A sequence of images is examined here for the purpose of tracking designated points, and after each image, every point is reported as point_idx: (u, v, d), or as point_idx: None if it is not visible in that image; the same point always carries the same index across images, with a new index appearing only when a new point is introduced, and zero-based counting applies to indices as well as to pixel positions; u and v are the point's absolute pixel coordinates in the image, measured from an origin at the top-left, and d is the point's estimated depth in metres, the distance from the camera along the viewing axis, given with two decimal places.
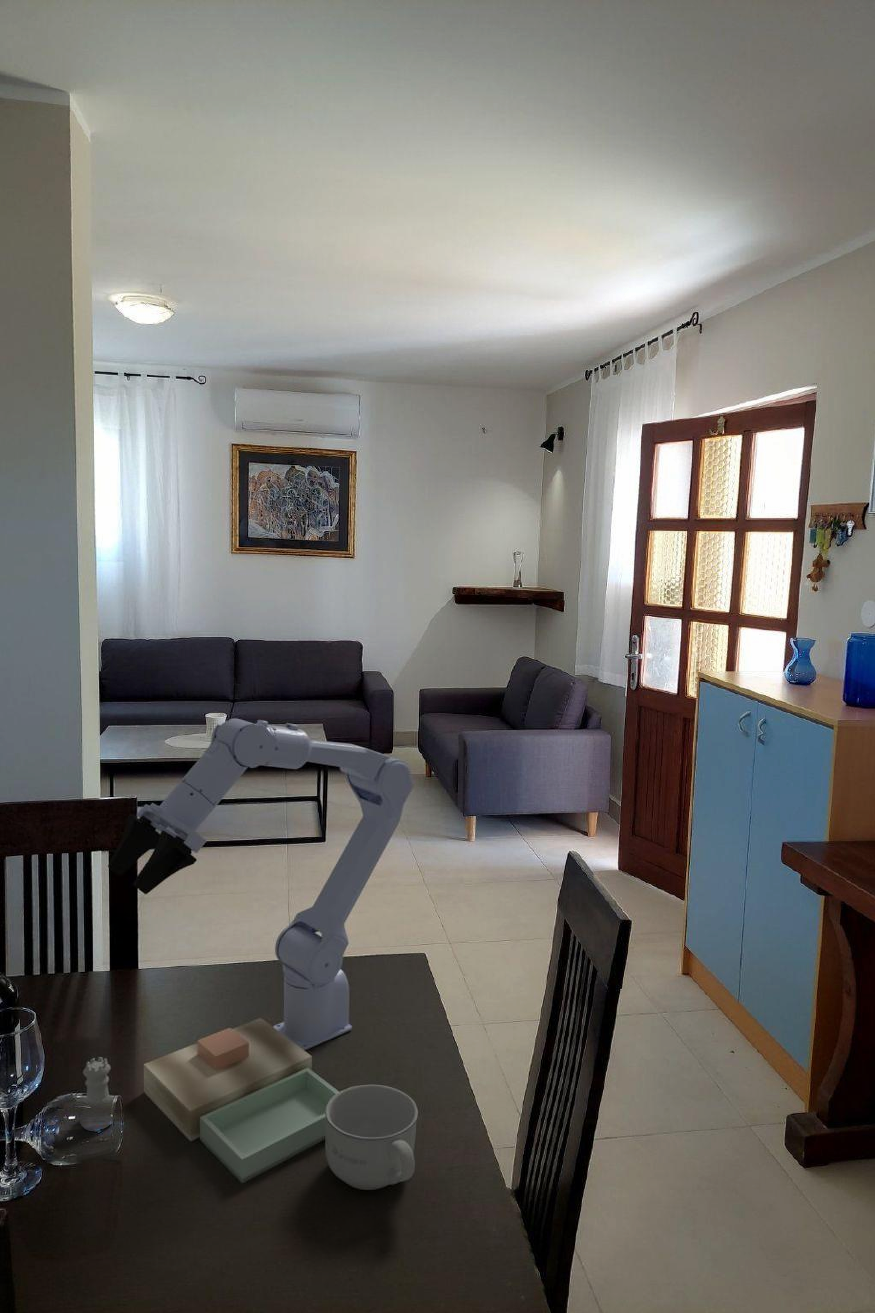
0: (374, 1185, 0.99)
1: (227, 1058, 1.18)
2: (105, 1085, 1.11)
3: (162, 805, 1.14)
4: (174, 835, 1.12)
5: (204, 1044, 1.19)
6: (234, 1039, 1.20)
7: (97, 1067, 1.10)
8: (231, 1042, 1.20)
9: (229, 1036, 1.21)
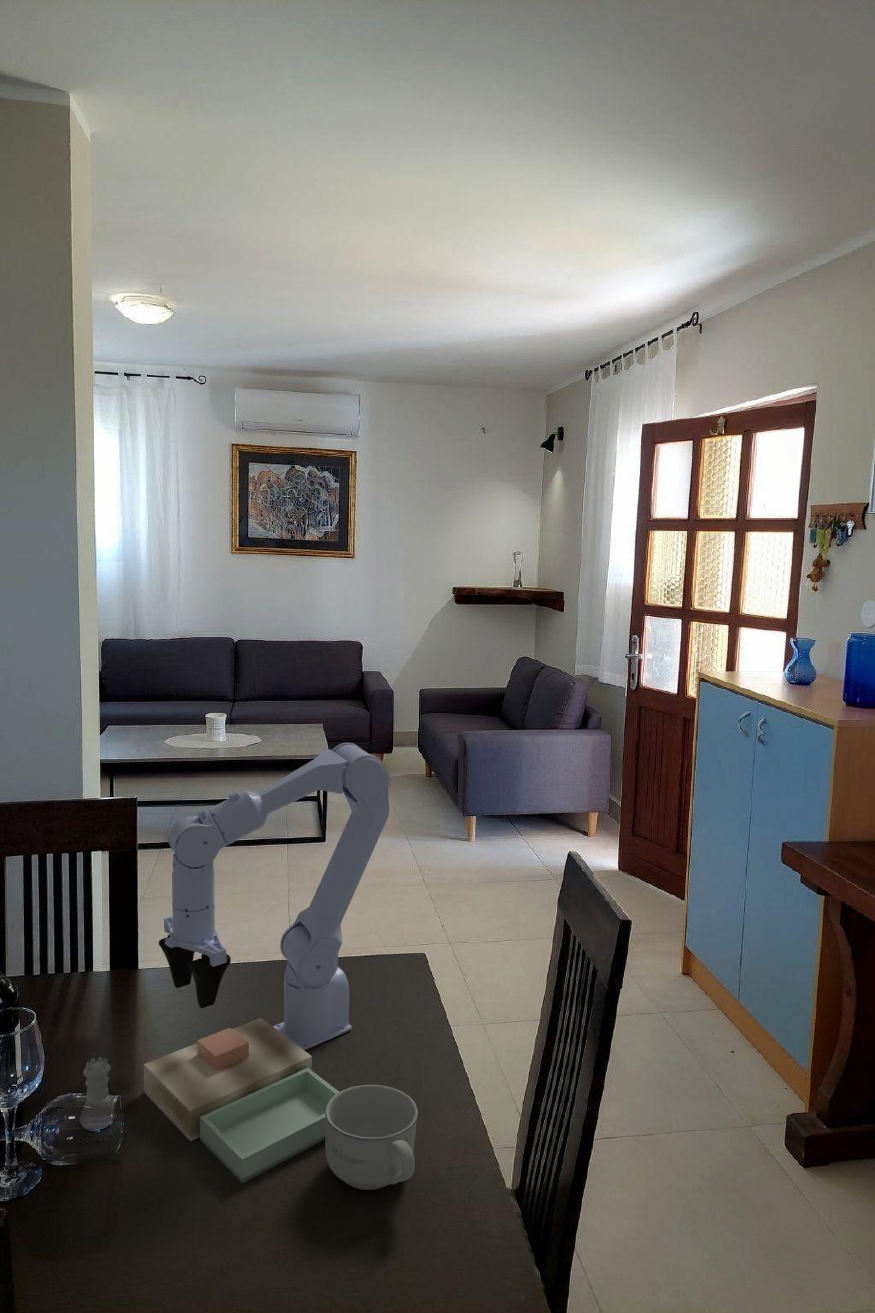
0: (374, 1185, 0.99)
1: (227, 1058, 1.18)
2: (105, 1085, 1.11)
3: (174, 934, 1.22)
4: None
5: (204, 1044, 1.19)
6: (234, 1039, 1.20)
7: (97, 1067, 1.10)
8: (231, 1042, 1.20)
9: (229, 1036, 1.21)
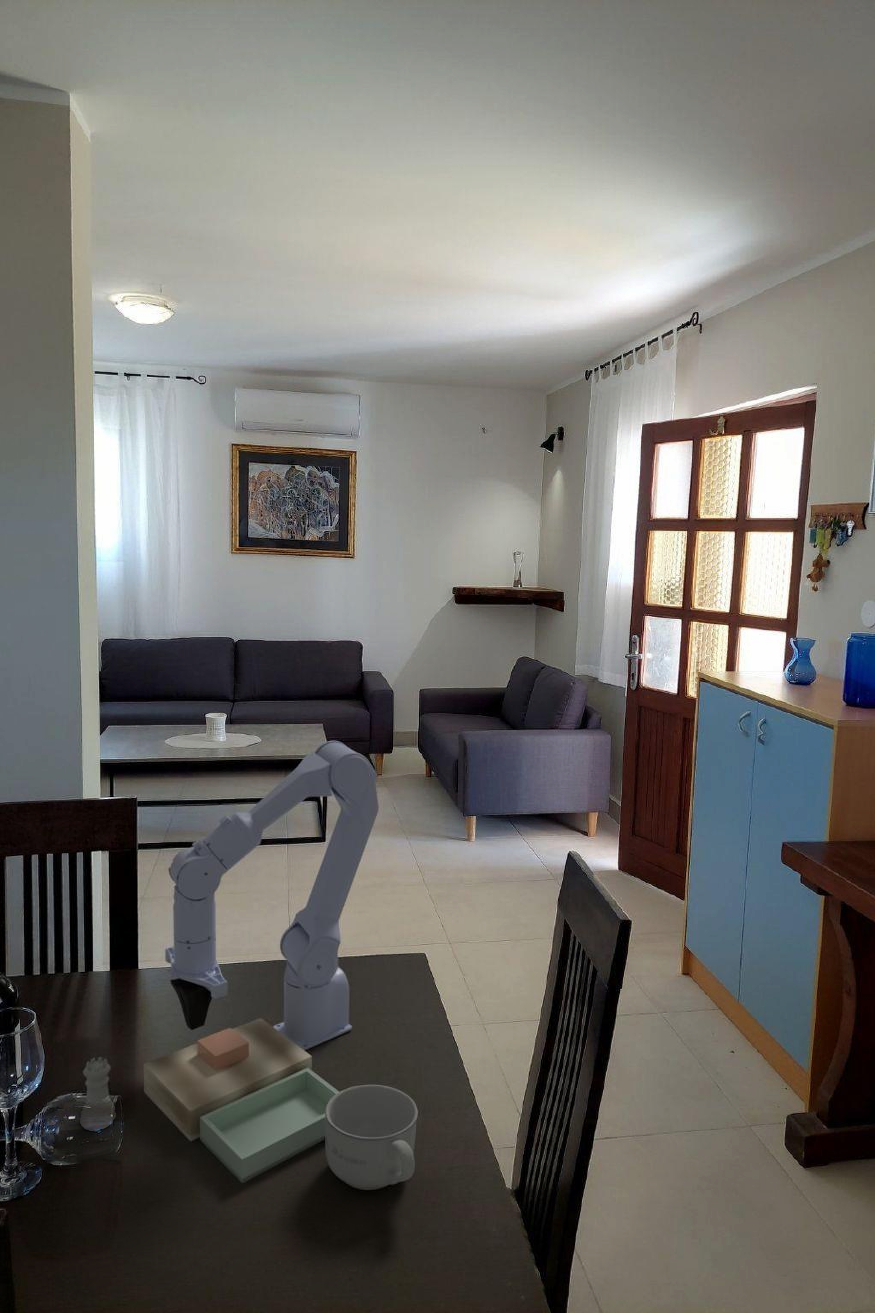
0: (374, 1185, 0.99)
1: (227, 1058, 1.18)
2: (105, 1085, 1.11)
3: (175, 966, 1.23)
4: None
5: (204, 1044, 1.19)
6: (234, 1039, 1.20)
7: (97, 1067, 1.10)
8: (231, 1042, 1.20)
9: (229, 1036, 1.21)
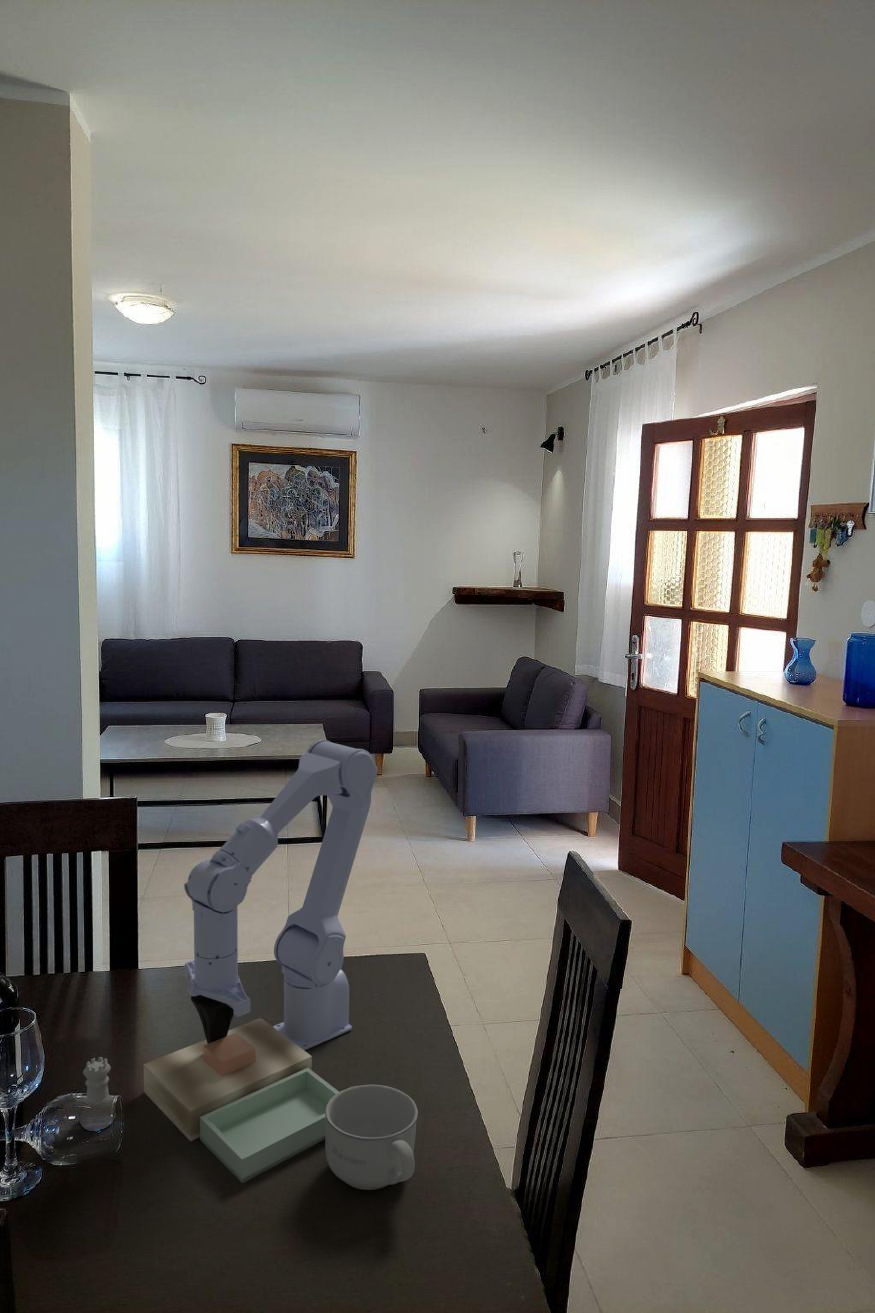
0: (374, 1185, 0.99)
1: (234, 1064, 1.16)
2: (105, 1085, 1.11)
3: (196, 982, 1.18)
4: None
5: (210, 1049, 1.18)
6: (241, 1044, 1.19)
7: (97, 1067, 1.10)
8: (237, 1047, 1.18)
9: (235, 1041, 1.20)
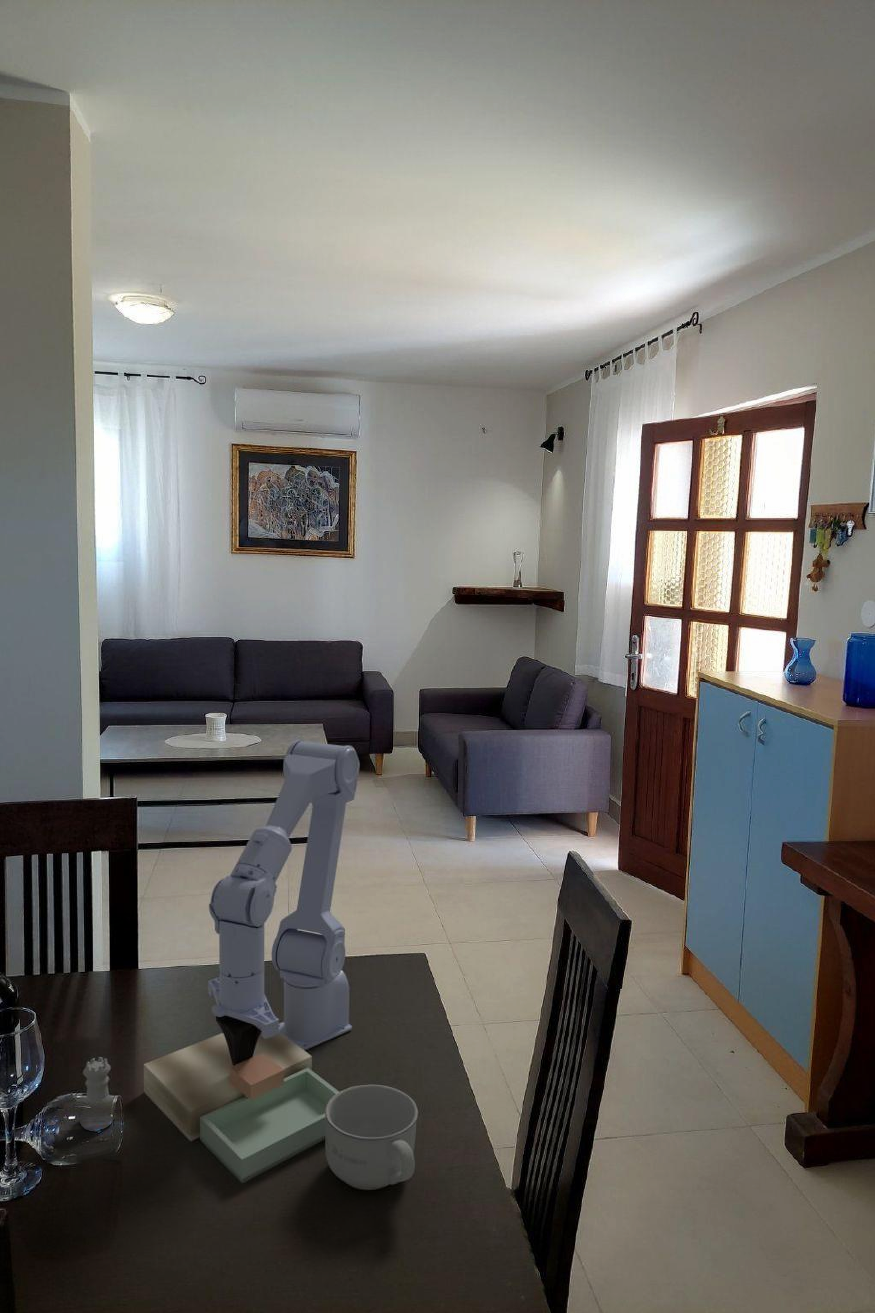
0: (374, 1185, 0.99)
1: (262, 1087, 1.12)
2: (105, 1085, 1.11)
3: (221, 1002, 1.13)
4: None
5: (237, 1072, 1.13)
6: (269, 1066, 1.15)
7: (97, 1067, 1.10)
8: (265, 1069, 1.14)
9: (263, 1062, 1.15)
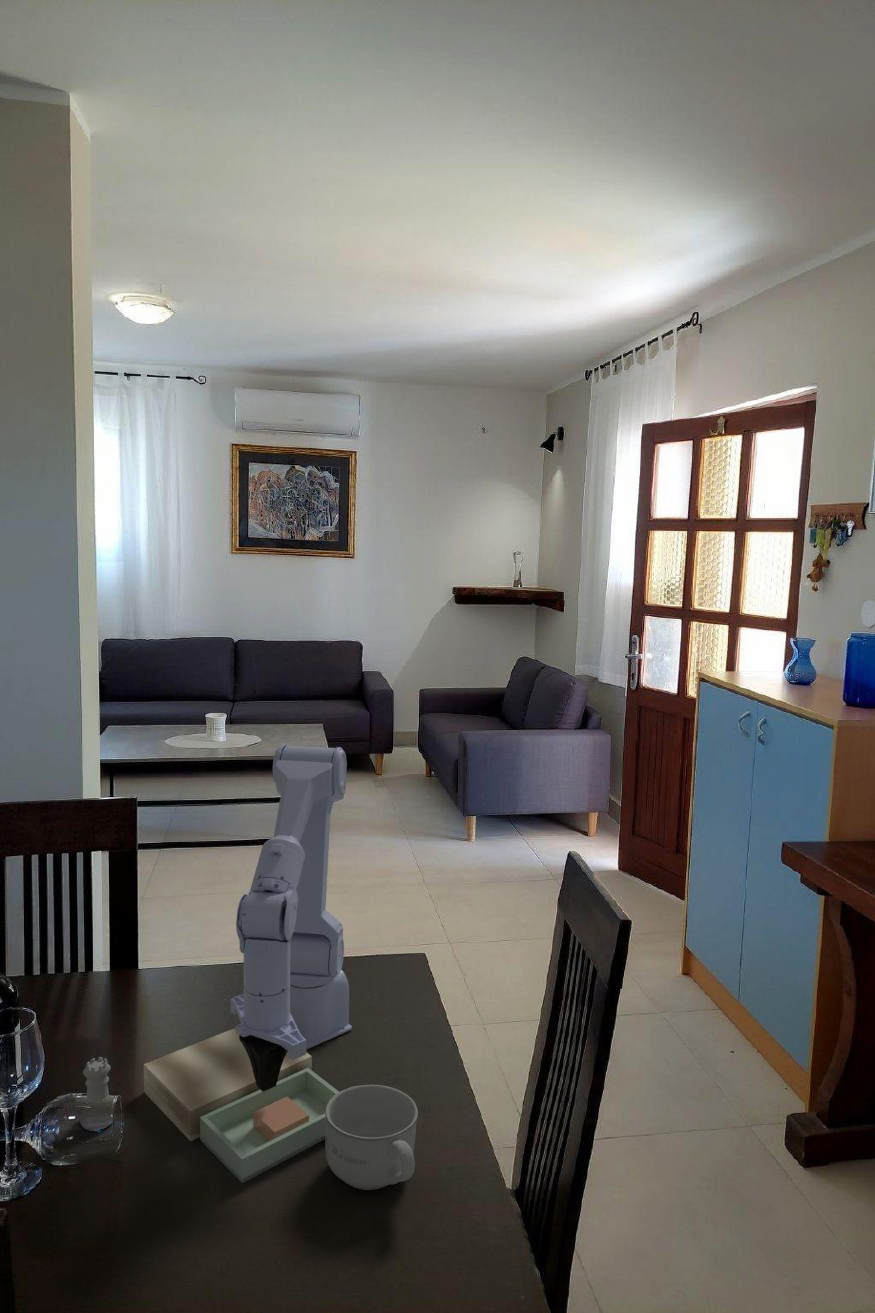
0: (374, 1185, 0.99)
1: None
2: (105, 1085, 1.11)
3: (245, 1021, 1.09)
4: None
5: (270, 1140, 1.08)
6: None
7: (97, 1067, 1.10)
8: None
9: None
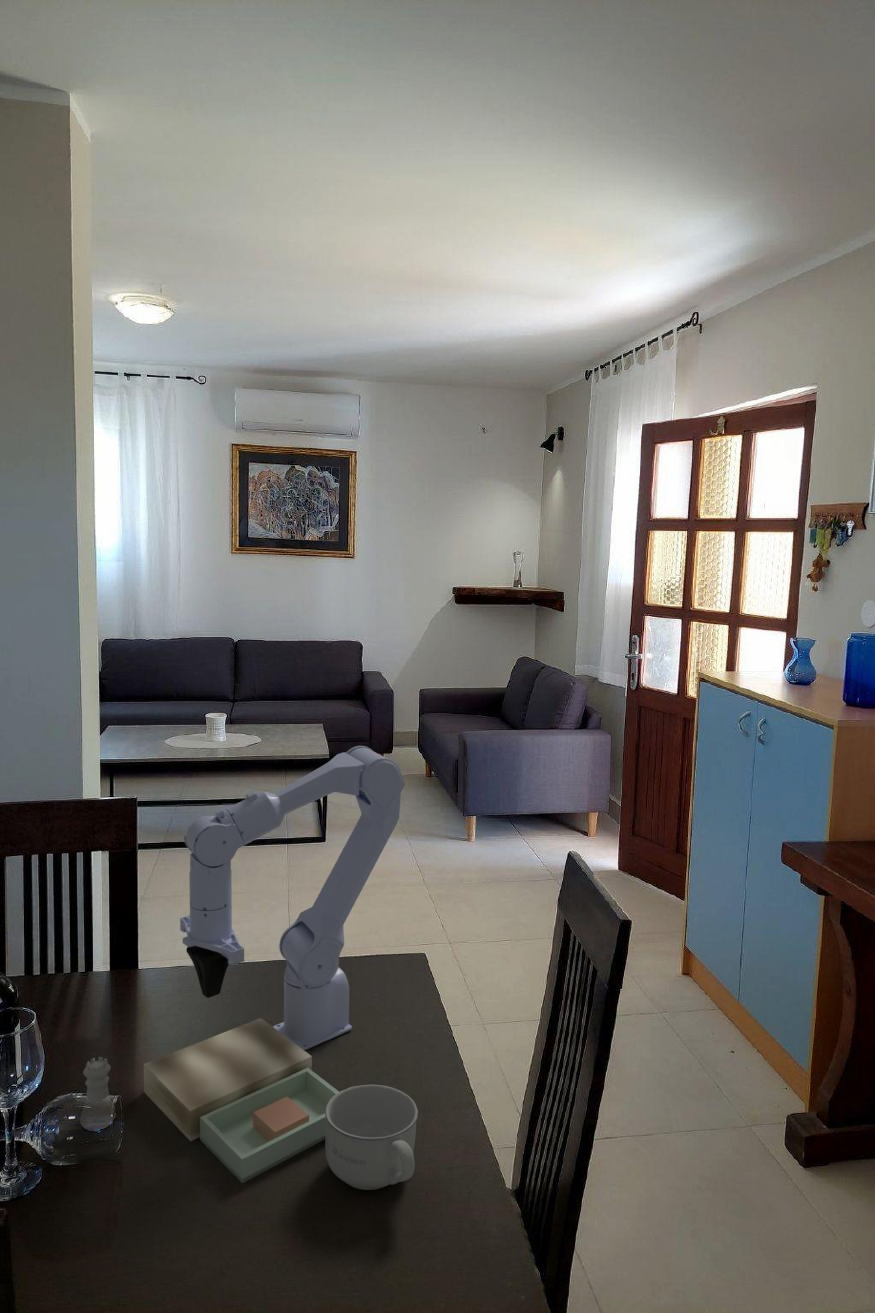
0: (374, 1185, 0.99)
1: None
2: (105, 1085, 1.11)
3: (191, 933, 1.23)
4: None
5: (270, 1140, 1.08)
6: None
7: (97, 1067, 1.10)
8: None
9: None
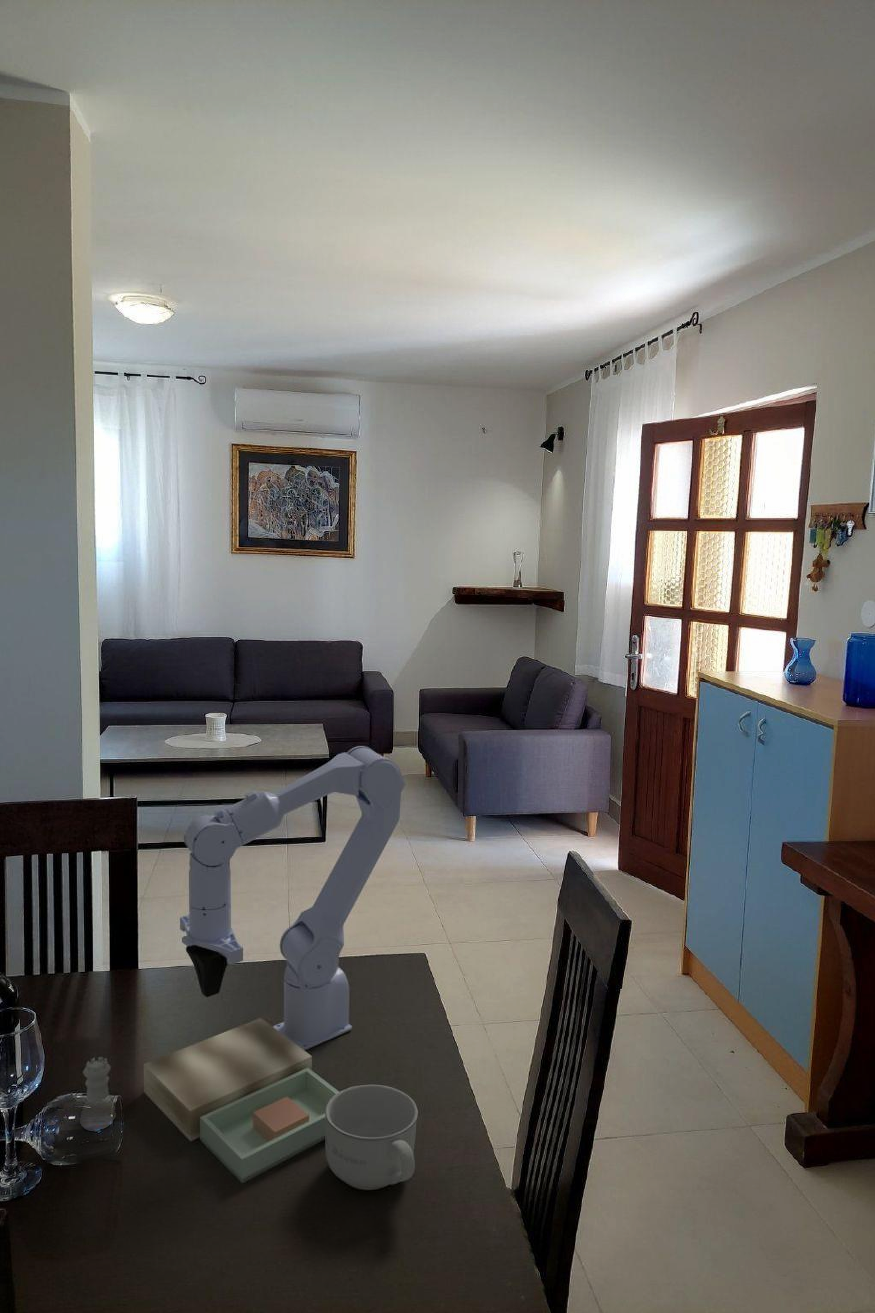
0: (374, 1185, 0.99)
1: None
2: (105, 1085, 1.11)
3: (190, 933, 1.23)
4: None
5: (270, 1140, 1.08)
6: None
7: (97, 1067, 1.10)
8: None
9: None
